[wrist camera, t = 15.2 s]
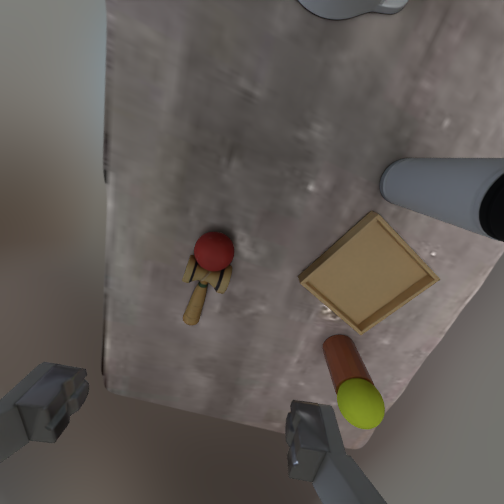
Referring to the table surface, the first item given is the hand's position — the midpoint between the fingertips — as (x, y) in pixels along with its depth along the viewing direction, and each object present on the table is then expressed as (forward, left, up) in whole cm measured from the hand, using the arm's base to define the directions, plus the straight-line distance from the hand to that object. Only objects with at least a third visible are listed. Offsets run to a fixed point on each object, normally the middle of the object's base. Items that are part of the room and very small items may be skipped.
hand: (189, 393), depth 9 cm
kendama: (+12, +2, -29) cm, 32 cm away
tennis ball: (+7, +30, -18) cm, 36 cm away
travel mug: (-19, +13, -29) cm, 37 cm away
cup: (+7, +30, -29) cm, 42 cm away
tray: (-6, +21, -29) cm, 36 cm away
